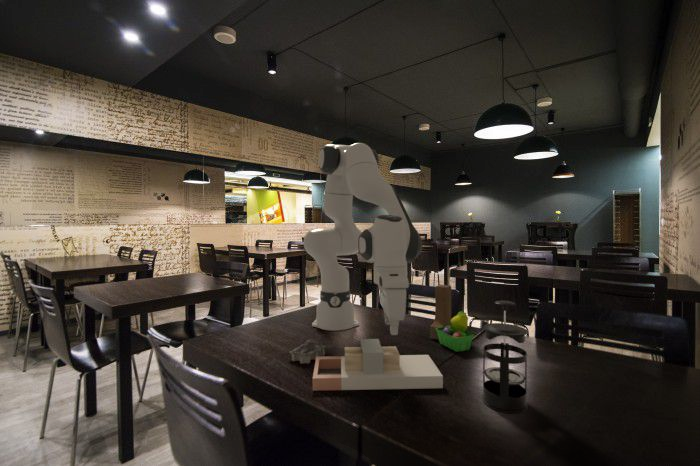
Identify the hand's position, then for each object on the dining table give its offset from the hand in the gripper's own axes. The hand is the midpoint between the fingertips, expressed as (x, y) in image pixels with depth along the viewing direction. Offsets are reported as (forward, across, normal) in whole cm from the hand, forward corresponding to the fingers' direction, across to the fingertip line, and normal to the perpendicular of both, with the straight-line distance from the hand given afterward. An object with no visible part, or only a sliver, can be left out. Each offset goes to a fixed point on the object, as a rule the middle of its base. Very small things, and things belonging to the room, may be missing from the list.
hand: (391, 328), depth 92 cm
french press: (+14, +14, +24) cm, 30 cm away
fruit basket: (+13, -22, +25) cm, 36 cm away
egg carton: (+13, -16, -23) cm, 31 cm away
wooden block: (+13, -32, +23) cm, 42 cm away
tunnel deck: (+13, 0, -4) cm, 14 cm away
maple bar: (+10, 0, -5) cm, 11 cm away
